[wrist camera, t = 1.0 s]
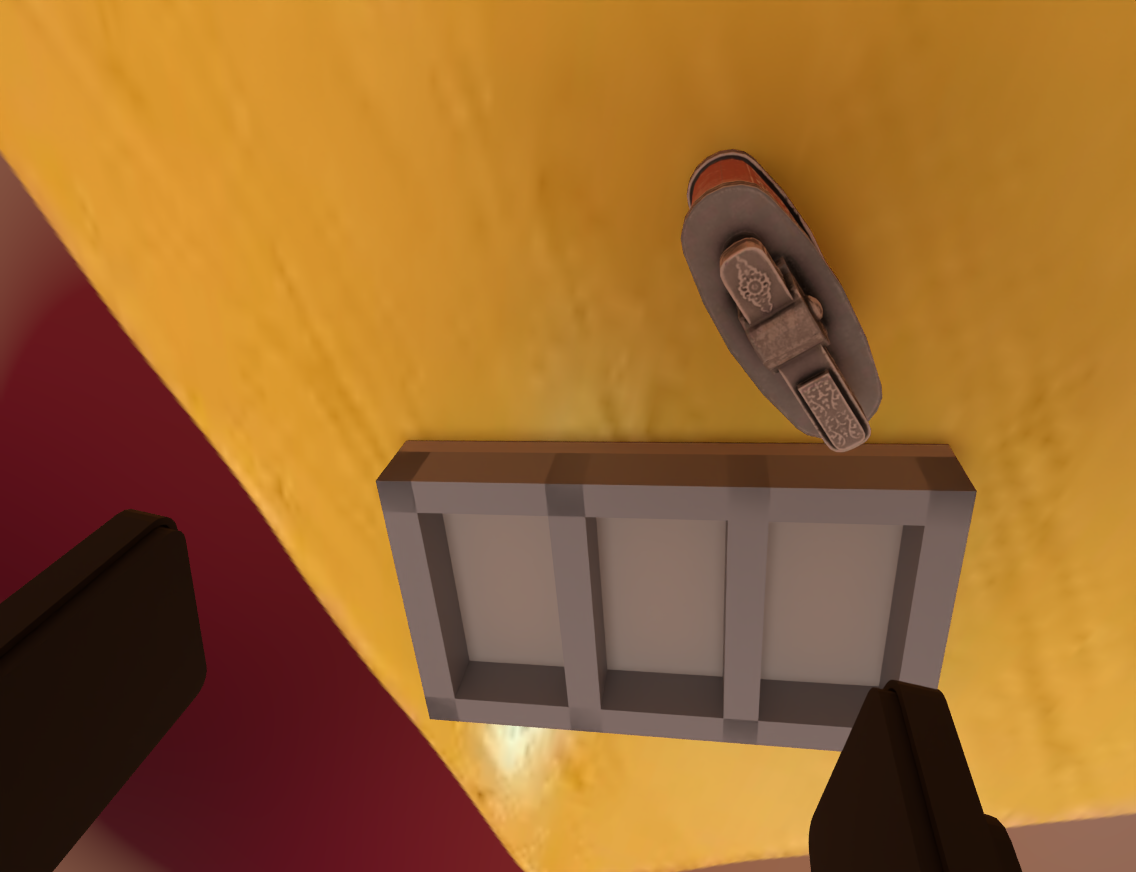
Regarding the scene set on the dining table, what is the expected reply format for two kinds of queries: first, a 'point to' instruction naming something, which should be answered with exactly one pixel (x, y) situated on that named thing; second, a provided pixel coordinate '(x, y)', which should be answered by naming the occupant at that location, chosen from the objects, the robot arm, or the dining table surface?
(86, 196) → the dining table surface
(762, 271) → the lighter
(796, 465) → the tray
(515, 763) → the dining table surface
